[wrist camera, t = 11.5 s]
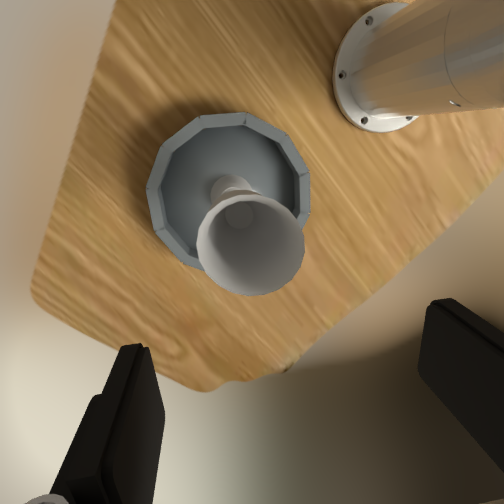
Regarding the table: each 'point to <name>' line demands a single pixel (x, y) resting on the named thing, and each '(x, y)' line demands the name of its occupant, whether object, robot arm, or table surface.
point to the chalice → (248, 240)
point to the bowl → (221, 175)
